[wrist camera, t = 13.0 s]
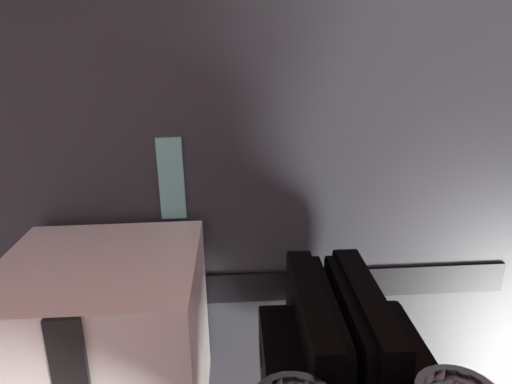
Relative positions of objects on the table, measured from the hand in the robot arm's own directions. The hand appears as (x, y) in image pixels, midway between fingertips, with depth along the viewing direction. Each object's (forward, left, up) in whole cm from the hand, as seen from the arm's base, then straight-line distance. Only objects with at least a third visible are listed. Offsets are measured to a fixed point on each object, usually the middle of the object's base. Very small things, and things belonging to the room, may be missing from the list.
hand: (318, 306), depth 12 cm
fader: (0, -5, -1) cm, 5 cm away
